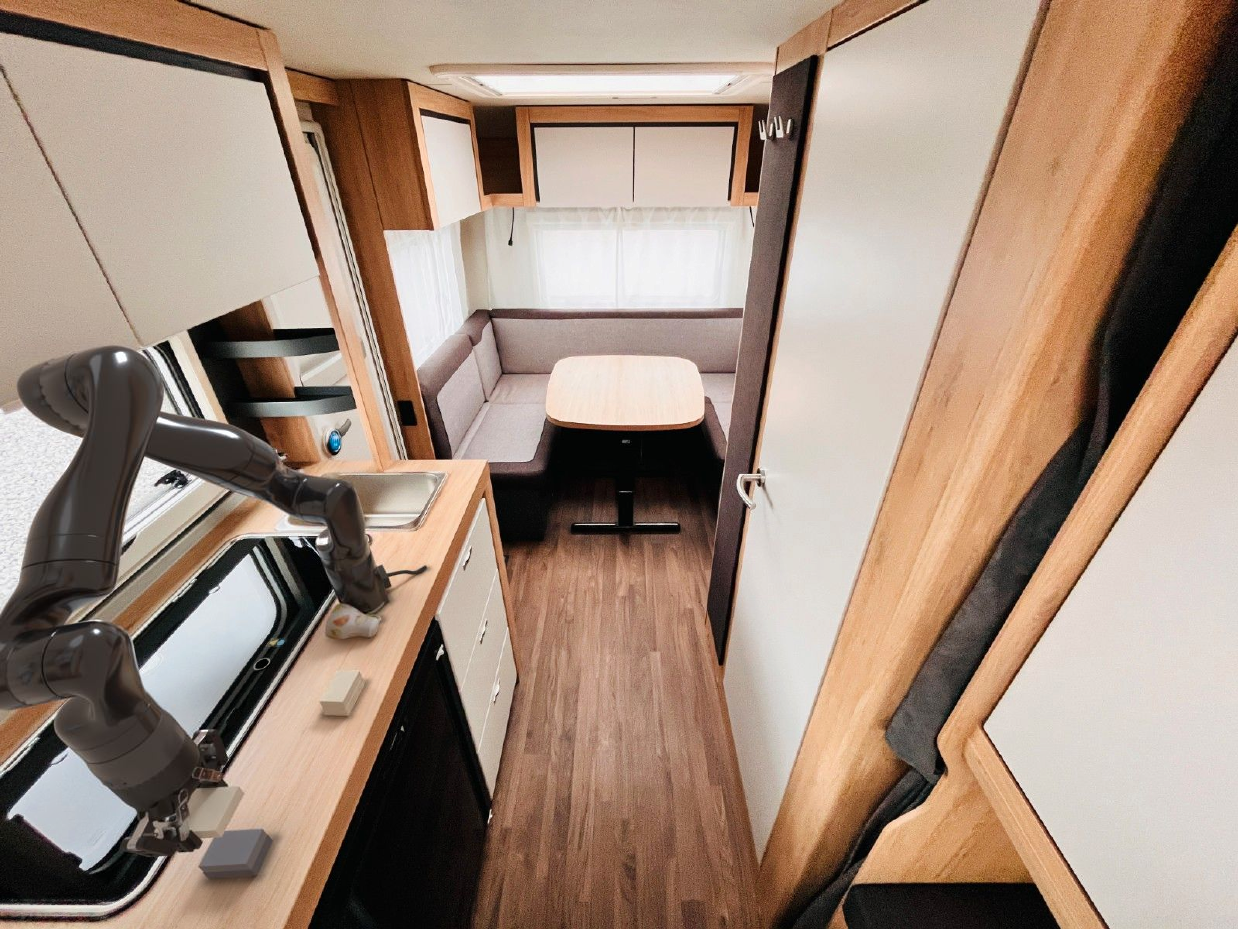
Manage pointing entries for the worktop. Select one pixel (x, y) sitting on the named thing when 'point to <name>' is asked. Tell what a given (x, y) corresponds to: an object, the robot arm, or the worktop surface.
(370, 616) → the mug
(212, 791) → the white book
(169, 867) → the worktop surface
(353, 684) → the white stack
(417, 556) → the worktop surface
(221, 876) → the grey stack
